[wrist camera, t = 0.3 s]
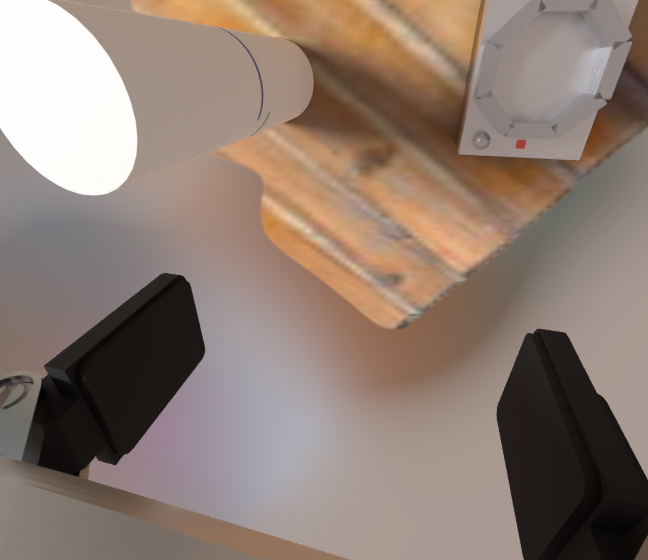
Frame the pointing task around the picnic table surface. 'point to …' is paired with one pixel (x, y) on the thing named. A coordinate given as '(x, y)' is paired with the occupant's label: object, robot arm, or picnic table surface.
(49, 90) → the cylindrical container
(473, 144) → the octagonal metal flange
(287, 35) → the picnic table surface
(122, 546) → the robot arm
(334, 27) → the picnic table surface
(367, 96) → the picnic table surface
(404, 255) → the picnic table surface
